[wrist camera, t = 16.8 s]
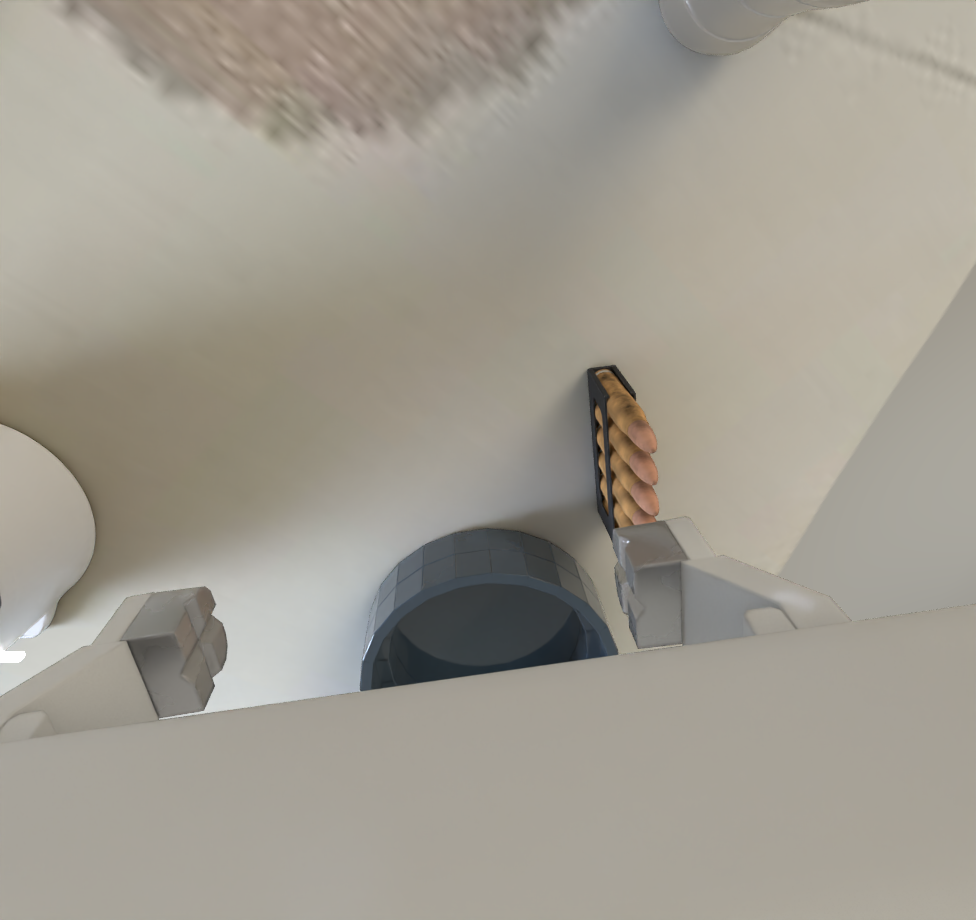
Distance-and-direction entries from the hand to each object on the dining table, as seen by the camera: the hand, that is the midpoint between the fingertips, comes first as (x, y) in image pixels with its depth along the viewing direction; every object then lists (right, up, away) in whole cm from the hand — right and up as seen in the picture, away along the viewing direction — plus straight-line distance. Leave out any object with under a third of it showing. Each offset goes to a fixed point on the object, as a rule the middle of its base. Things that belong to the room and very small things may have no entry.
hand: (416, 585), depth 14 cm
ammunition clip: (+9, +4, +33) cm, 35 cm away
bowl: (+1, -10, +38) cm, 40 cm away
